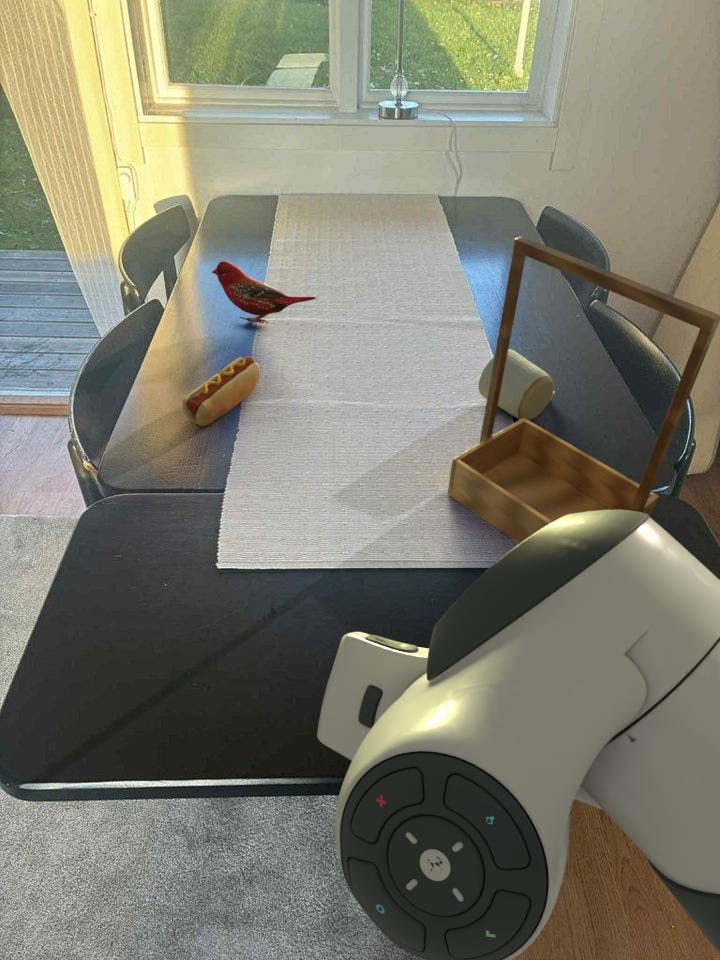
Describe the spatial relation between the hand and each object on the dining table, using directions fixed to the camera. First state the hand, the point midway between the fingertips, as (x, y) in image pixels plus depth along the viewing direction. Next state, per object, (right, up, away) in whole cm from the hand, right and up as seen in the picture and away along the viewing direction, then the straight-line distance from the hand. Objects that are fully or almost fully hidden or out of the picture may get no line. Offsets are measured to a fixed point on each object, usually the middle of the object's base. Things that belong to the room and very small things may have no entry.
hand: (492, 691), depth 51 cm
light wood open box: (+12, +12, +33) cm, 37 cm away
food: (-29, +26, +48) cm, 61 cm away
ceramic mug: (+13, +26, +50) cm, 58 cm away
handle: (+12, +12, +33) cm, 37 cm away
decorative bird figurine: (-25, +41, +66) cm, 81 cm away
